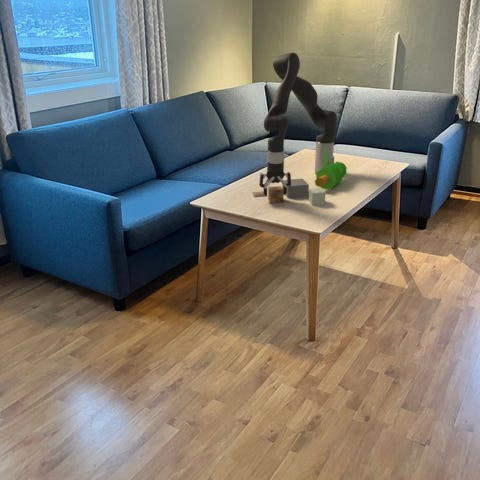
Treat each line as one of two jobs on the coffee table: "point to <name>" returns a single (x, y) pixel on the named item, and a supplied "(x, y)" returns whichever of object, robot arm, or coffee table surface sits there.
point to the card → (258, 194)
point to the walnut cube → (275, 194)
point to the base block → (297, 188)
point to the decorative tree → (330, 175)
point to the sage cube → (317, 196)
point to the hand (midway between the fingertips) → (275, 195)
